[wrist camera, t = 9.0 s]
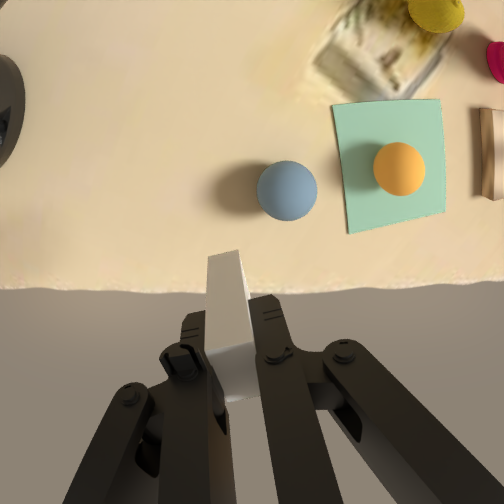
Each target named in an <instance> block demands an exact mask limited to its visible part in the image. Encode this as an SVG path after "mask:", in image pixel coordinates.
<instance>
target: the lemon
mask: <svg viewBox="0 0 504 504" xmlns="http://www.w3.org/2000/svg"><path fill="white" fill-rule="evenodd" d="M408 11H409V14H410V16H411V18H412V19H413V21H414V22H415V23H416V24H417V25H418V26H420V27H421V28H422V29H424V30H426V31H429V32H433V33H446V32H449V31H452V30H454V29H456V28H457V27H458V26H459V25H460V24H461V23H462V22H463V19H464V7H463V5H462V3H461V1H460V0H409V1H408Z"/></svg>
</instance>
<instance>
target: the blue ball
mask: <svg viewBox="0 0 504 504" xmlns="http://www.w3.org/2000/svg"><path fill="white" fill-rule="evenodd" d="M257 198H258V201H259V204H260V205H261V207H262V208H263V210H264V211H265V212H266V213H267V214H268V215H270V216H271V217H273V218H275V219H278V220H282V221H293V220H297V219H299V218H301V217H303V216H305V215H306V214H307V213H308V212H309V211H310V210H311V209H312V207H313V205H314V204H315V201H316V198H317V185H316V181H315V179H314V177H313V175H312V174H311V172H310V171H309V170H308V169H307V168H306V167H304V166H303V165H301V164H299V163H297V162H293V161H280V162H276V163H274V164H272V165H270V166H269V167H268V168H266V169H265V170H264V172H263V173H262V174H261V176H260V178H259V180H258V183H257Z"/></svg>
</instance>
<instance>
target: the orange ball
mask: <svg viewBox="0 0 504 504" xmlns="http://www.w3.org/2000/svg"><path fill="white" fill-rule="evenodd" d="M373 171H374V176H375V178H376V181H377V182H378V184H379V185H380V186H381V188H382V189H384V190H385V191H386V192H388V193H390V194H392V195H395V196H406V195H409V194H412V193H414V192H415V191H416V190H417V189H418V188H419V187H420V186H421V184H422V182H423V180H424V177H425V165H424V161H423V159H422V157H421V155H420V154H419V152H418V151H417V150H416V149H415V148H413V147H412V146H410V145H408V144H406V143H401V142H393V143H390V144H387V145H385V146H384V147H382V148H381V149H380V150H379V152H378V153H377V155H376V157H375V159H374V164H373Z"/></svg>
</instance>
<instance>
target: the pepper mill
mask: <svg viewBox="0 0 504 504" xmlns="http://www.w3.org/2000/svg"><path fill="white" fill-rule="evenodd" d="M487 61H488V65H489V68H490V70H491V72H492V74H493V75H494V77H495V78H496V79H497V80H498V81H499V82H500V83H503V84H504V42H492V43H490V44H489V46H488V48H487Z"/></svg>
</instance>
